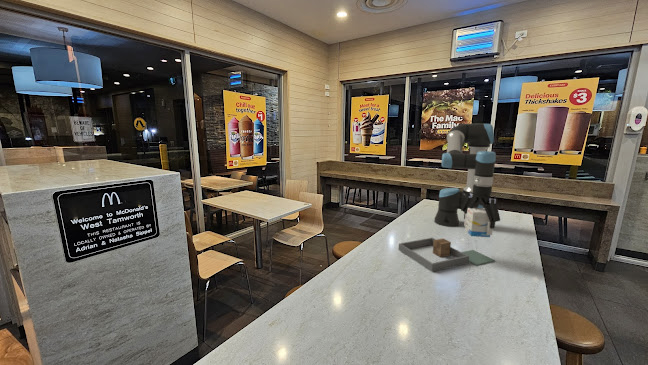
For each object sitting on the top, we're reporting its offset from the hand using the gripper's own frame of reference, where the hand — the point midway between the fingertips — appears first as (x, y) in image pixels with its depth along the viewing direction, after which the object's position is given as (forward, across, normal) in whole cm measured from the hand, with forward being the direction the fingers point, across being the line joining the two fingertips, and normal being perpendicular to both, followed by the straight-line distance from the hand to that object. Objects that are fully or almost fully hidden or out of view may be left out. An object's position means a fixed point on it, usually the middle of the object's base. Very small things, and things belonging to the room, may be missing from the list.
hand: (477, 230), depth 128 cm
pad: (+14, 0, 0) cm, 14 cm away
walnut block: (+14, -9, -12) cm, 21 cm away
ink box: (+2, 0, 0) cm, 2 cm away
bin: (+14, -9, -18) cm, 25 cm away
